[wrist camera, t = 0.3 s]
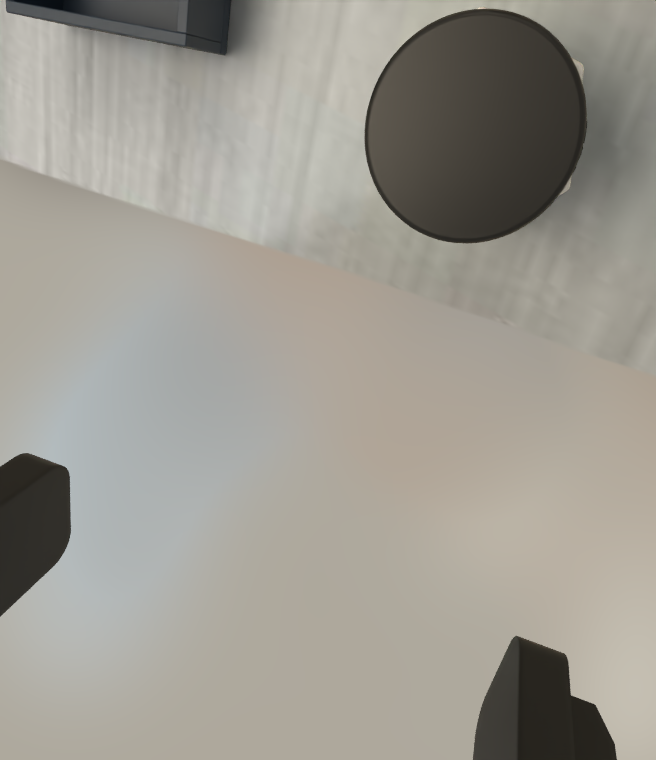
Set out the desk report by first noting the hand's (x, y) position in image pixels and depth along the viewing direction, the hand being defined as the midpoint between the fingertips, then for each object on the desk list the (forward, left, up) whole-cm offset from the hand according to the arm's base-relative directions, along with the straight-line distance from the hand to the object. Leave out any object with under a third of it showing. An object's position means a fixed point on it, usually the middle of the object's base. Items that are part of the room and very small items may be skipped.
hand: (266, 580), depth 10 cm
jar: (-7, 0, -29) cm, 30 cm away
